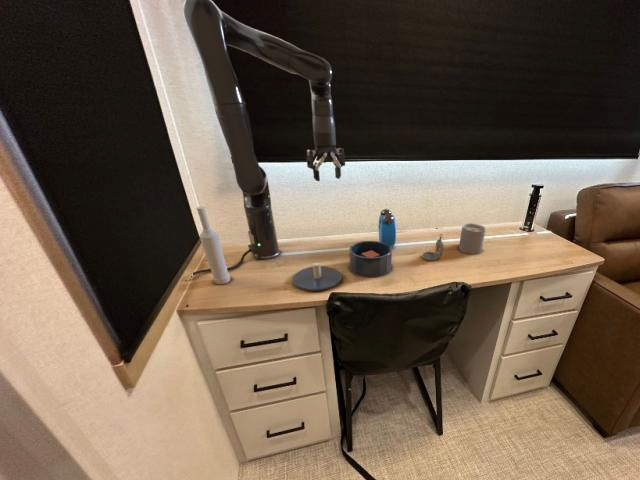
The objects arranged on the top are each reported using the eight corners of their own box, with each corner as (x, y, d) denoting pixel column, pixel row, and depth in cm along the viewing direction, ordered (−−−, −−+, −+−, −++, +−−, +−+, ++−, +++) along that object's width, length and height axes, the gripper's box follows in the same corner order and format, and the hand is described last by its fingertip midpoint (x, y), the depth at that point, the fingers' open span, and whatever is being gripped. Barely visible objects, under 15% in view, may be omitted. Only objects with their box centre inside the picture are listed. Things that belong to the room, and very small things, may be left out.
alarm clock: (395, 251, 134) (396, 216, 125) (381, 251, 133) (381, 216, 124) (391, 239, 144) (392, 206, 136) (378, 239, 143) (378, 206, 135)
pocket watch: (419, 257, 130) (421, 234, 124) (431, 251, 135) (434, 229, 130) (434, 264, 125) (437, 240, 120) (447, 258, 130) (450, 235, 125)
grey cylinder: (484, 253, 136) (489, 231, 130) (462, 254, 135) (466, 231, 129) (474, 241, 147) (478, 220, 141) (454, 241, 146) (457, 220, 140)
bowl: (366, 281, 111) (365, 262, 107) (342, 264, 121) (341, 246, 117) (399, 269, 120) (400, 251, 116) (374, 255, 130) (375, 237, 125)
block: (369, 270, 117) (369, 258, 114) (361, 265, 120) (361, 253, 117) (379, 266, 120) (380, 254, 117) (371, 261, 123) (371, 250, 120)
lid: (307, 297, 101) (305, 280, 97) (285, 277, 111) (282, 261, 107) (351, 282, 110) (350, 266, 107) (327, 264, 120) (325, 249, 117)
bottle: (217, 276, 109) (195, 204, 95) (233, 276, 109) (213, 205, 96) (211, 284, 104) (187, 210, 91) (227, 284, 105) (205, 210, 91)
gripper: (336, 129, 115) (339, 175, 124) (300, 129, 107) (305, 179, 116) (347, 131, 110) (349, 179, 119) (310, 132, 102) (315, 183, 111)
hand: (327, 179), depth 118 cm, fingers open, 8 cm apart
